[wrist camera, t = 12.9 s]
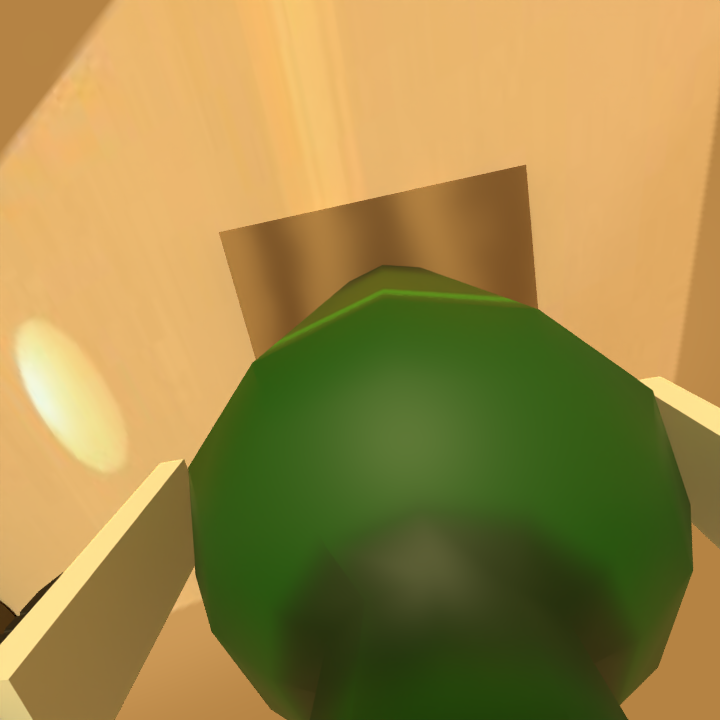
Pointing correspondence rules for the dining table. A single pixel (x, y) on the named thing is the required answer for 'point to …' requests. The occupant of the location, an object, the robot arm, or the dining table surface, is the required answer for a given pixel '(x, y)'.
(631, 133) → the dining table surface
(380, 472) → the bottle
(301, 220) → the walnut riser
